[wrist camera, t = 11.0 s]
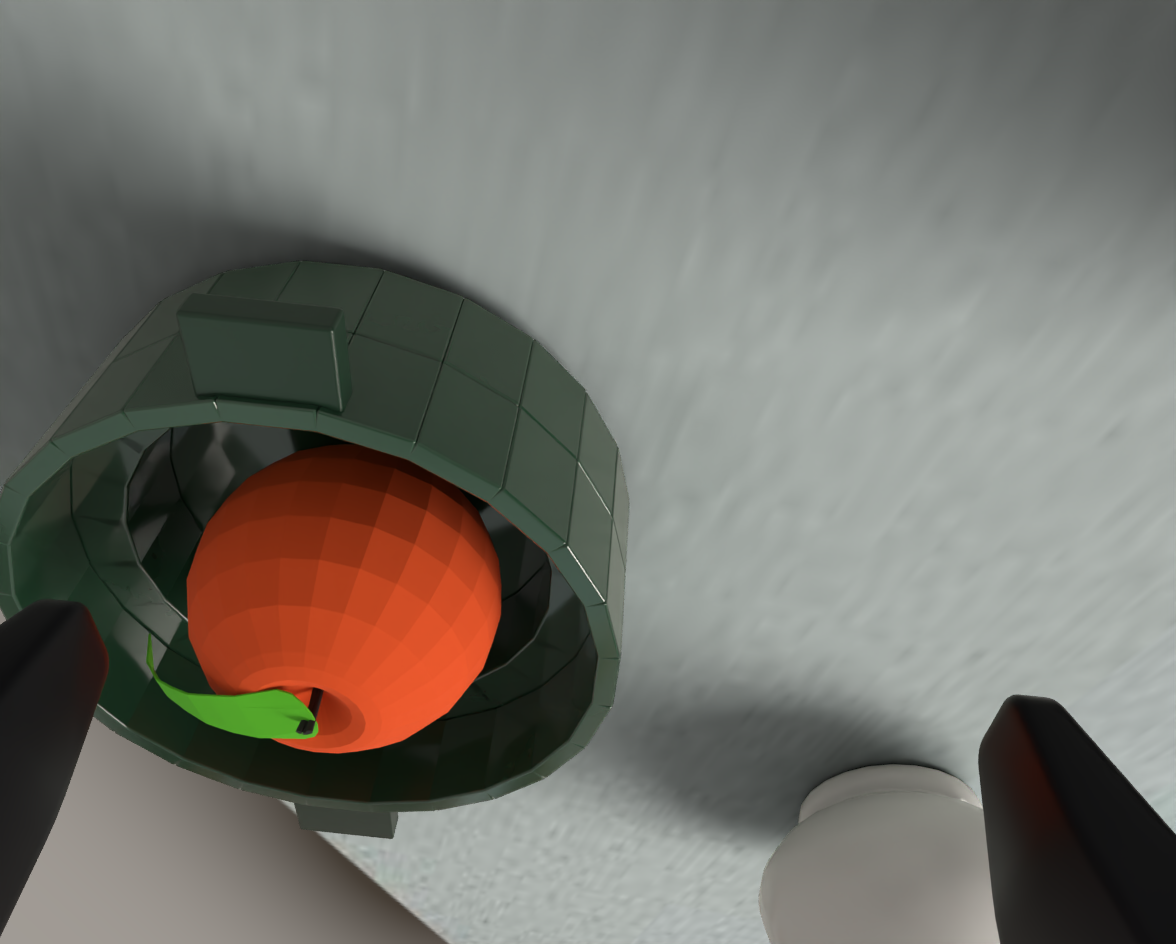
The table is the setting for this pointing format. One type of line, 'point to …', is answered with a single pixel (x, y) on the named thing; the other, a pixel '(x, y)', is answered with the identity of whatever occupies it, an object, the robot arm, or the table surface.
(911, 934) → the flower vase
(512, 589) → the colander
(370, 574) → the clementine
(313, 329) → the colander handles
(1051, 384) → the table surface
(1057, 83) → the table surface
